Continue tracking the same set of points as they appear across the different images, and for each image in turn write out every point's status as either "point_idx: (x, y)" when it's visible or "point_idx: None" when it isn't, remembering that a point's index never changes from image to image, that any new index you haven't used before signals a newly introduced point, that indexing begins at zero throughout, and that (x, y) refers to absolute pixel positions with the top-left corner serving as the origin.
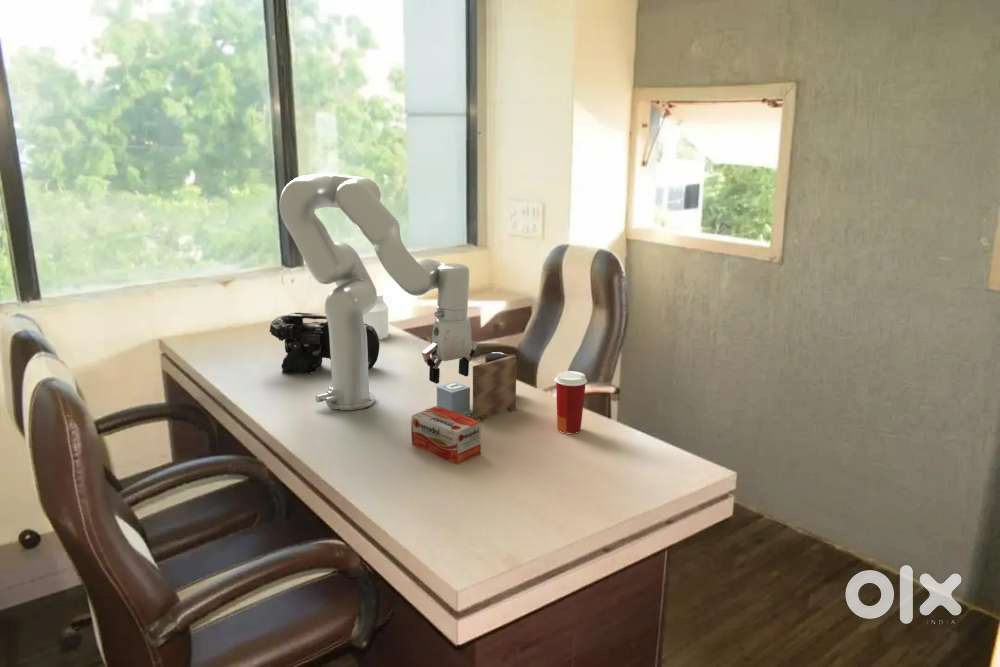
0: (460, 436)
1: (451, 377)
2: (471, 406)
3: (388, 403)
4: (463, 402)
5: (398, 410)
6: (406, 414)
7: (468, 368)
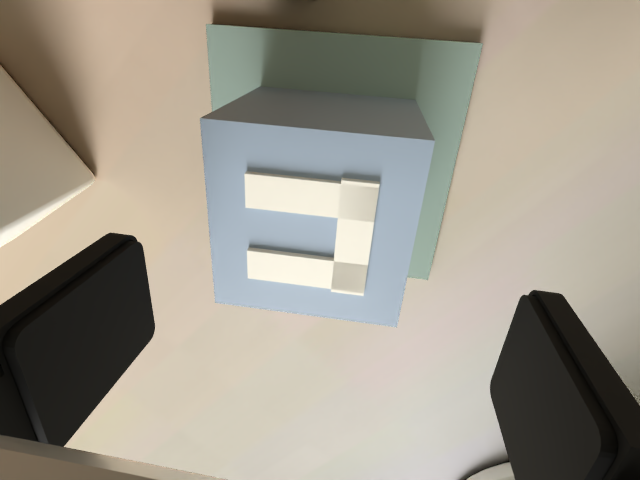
0: None
1: None
2: None
3: (460, 429)
4: (304, 102)
5: None
6: None
7: (52, 273)
